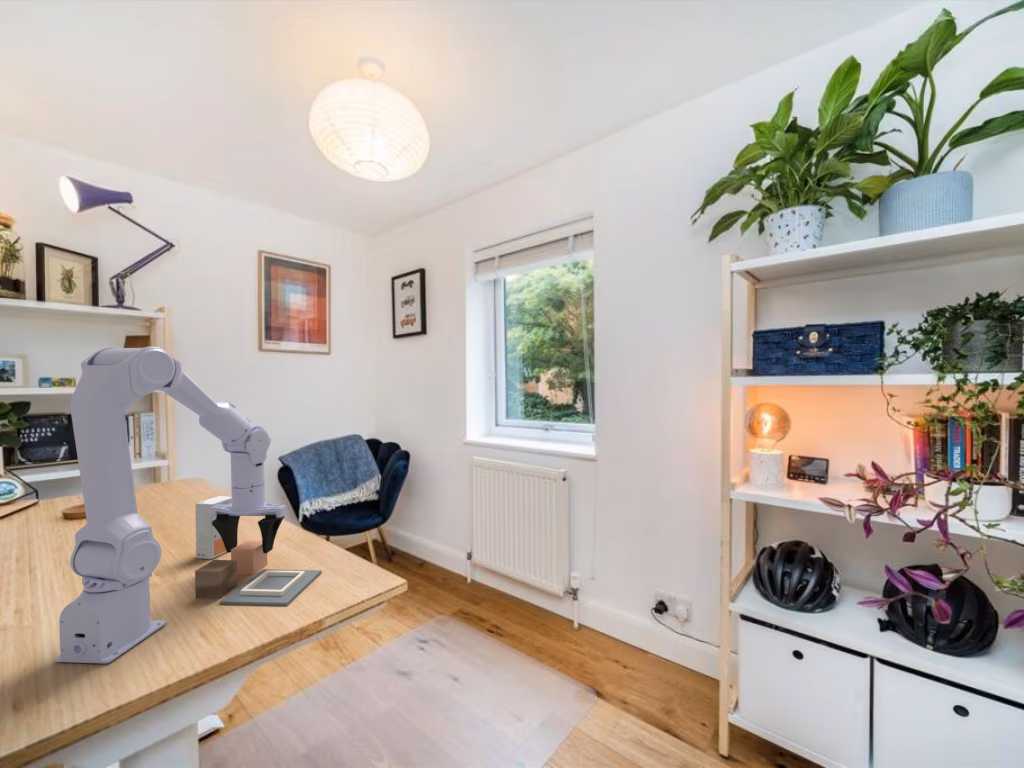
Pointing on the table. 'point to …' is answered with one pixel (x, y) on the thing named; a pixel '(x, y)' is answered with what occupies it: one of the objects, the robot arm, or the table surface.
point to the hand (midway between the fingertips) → (249, 550)
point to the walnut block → (216, 579)
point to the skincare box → (208, 529)
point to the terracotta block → (249, 557)
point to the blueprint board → (272, 587)
